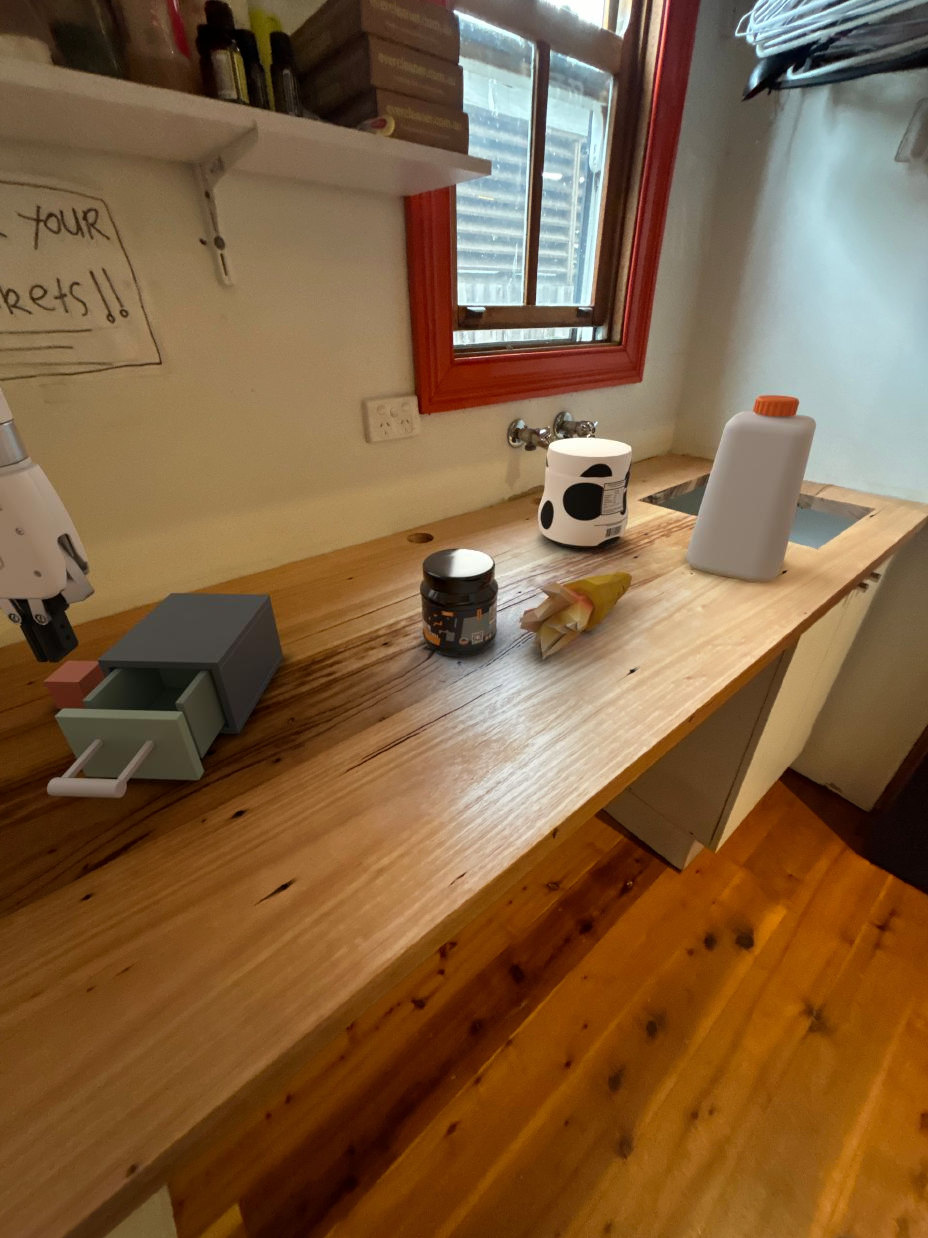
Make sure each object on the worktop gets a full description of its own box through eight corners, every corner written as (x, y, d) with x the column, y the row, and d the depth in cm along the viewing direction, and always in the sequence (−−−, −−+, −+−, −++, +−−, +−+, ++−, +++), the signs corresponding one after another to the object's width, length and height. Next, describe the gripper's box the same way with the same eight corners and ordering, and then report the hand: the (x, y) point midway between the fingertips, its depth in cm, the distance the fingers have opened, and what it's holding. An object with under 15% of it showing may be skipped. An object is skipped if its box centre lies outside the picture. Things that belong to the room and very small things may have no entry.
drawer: (165, 835, 47) (136, 771, 43) (40, 830, 48) (-1, 767, 44) (252, 693, 64) (237, 638, 60) (159, 691, 65) (138, 636, 61)
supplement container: (416, 625, 79) (412, 550, 73) (485, 615, 82) (485, 542, 75) (431, 665, 71) (426, 584, 64) (506, 653, 73) (509, 574, 67)
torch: (623, 618, 88) (536, 670, 70) (589, 584, 90) (497, 626, 73) (655, 584, 82) (570, 631, 65) (619, 549, 85) (527, 585, 67)
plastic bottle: (678, 568, 95) (715, 400, 81) (699, 540, 106) (734, 388, 92) (773, 589, 88) (831, 409, 74) (784, 557, 99) (837, 394, 84)
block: (57, 709, 64) (43, 681, 62) (80, 687, 67) (67, 660, 65) (91, 710, 64) (78, 682, 61) (113, 688, 67) (101, 660, 65)
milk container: (546, 519, 117) (552, 434, 108) (628, 528, 112) (641, 439, 103) (527, 549, 103) (532, 454, 94) (619, 561, 98) (634, 462, 89)
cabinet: (238, 734, 60) (217, 662, 55) (128, 731, 60) (96, 660, 55) (283, 658, 72) (269, 594, 67) (191, 656, 73) (171, 592, 68)
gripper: (-187, 462, 37) (-54, 676, 46) (19, 465, 36) (112, 681, 46) (-85, 438, 43) (14, 630, 53) (92, 440, 43) (160, 634, 52)
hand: (59, 653), depth 49 cm, fingers closed
